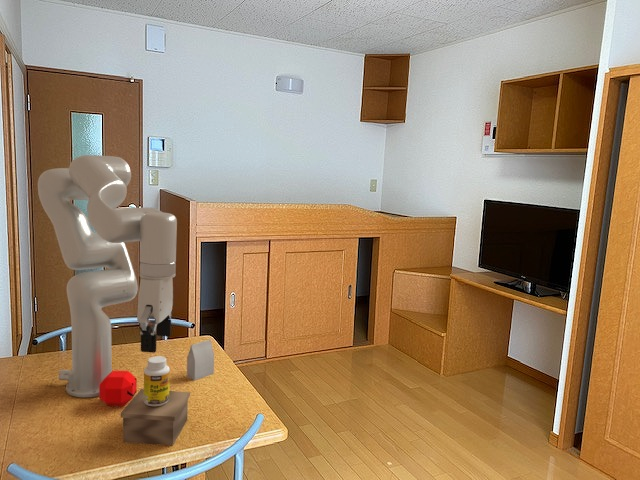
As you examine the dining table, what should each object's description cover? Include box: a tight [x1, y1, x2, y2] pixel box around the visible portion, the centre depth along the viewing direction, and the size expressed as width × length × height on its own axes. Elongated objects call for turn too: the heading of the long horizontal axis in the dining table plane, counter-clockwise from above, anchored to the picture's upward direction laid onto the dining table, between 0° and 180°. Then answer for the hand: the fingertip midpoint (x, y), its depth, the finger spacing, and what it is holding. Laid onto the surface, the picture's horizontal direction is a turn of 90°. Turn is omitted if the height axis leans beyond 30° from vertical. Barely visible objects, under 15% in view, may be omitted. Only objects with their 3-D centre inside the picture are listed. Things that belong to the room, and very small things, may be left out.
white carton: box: [186, 339, 215, 381], centre depth 145 cm, size 4×7×10 cm, turn 141°
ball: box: [98, 370, 138, 407], centre depth 127 cm, size 8×8×8 cm
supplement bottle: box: [143, 355, 171, 407], centre depth 114 cm, size 6×6×10 cm
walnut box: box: [120, 388, 191, 446], centre depth 115 cm, size 12×12×7 cm
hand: (156, 343), depth 113 cm, fingers open, 9 cm apart
